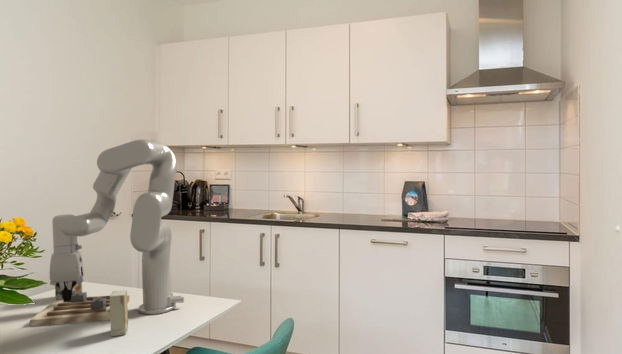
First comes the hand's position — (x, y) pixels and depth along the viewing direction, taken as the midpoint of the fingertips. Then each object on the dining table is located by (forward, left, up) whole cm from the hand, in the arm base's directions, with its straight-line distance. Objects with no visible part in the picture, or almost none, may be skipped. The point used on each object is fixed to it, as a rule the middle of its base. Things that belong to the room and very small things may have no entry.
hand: (67, 299), depth 154 cm
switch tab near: (-13, +9, -1) cm, 16 cm away
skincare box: (-24, +27, -4) cm, 36 cm away
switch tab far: (-4, 0, -1) cm, 4 cm away
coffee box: (+4, -14, -4) cm, 15 cm away
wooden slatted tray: (-7, +5, -3) cm, 9 cm away
